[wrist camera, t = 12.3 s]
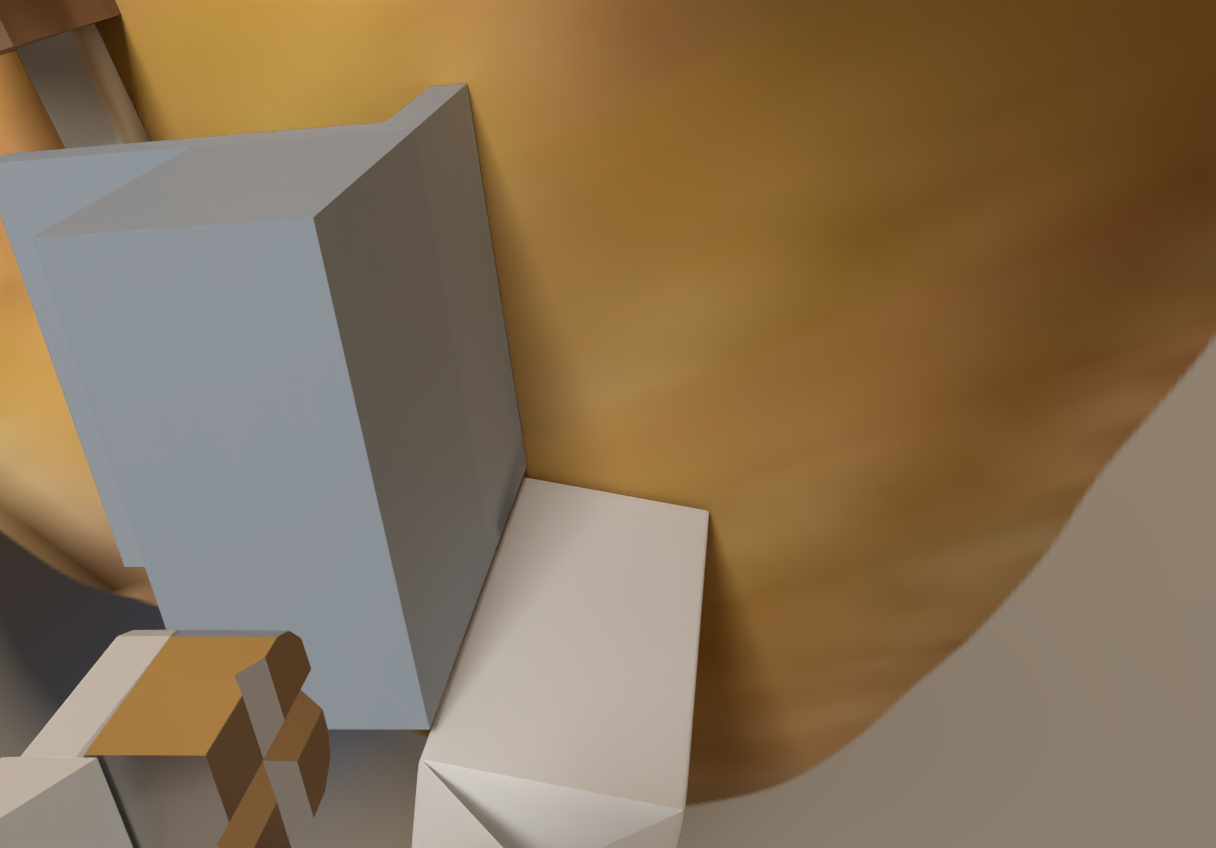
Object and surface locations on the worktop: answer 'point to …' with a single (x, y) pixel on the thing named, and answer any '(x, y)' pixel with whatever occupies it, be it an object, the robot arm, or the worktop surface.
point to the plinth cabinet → (289, 382)
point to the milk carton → (572, 681)
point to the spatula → (72, 69)
